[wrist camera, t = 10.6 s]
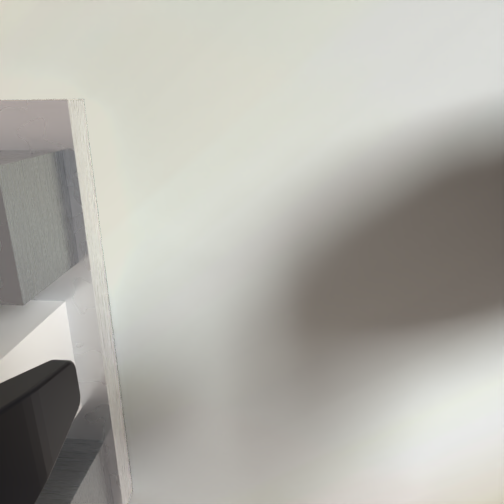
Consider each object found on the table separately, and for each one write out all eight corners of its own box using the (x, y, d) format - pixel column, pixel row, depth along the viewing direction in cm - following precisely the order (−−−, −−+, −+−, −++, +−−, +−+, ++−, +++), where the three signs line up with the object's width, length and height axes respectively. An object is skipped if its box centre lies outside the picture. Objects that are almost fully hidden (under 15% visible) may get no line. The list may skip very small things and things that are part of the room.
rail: (83, 98, 20) (-7, 101, 14) (132, 491, 27) (87, 602, 21) (-68, 100, 20) (-215, 104, 15) (20, 483, 28) (-55, 590, 22)
